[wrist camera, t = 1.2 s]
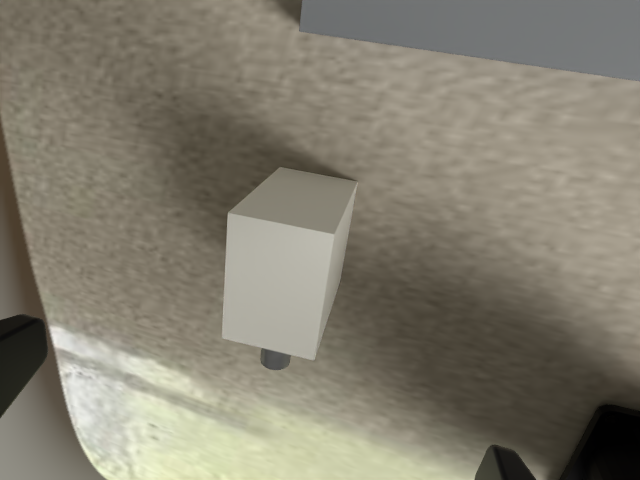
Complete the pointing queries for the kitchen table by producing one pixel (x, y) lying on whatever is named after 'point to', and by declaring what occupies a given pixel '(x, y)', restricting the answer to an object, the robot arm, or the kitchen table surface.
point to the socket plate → (495, 30)
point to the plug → (286, 263)
